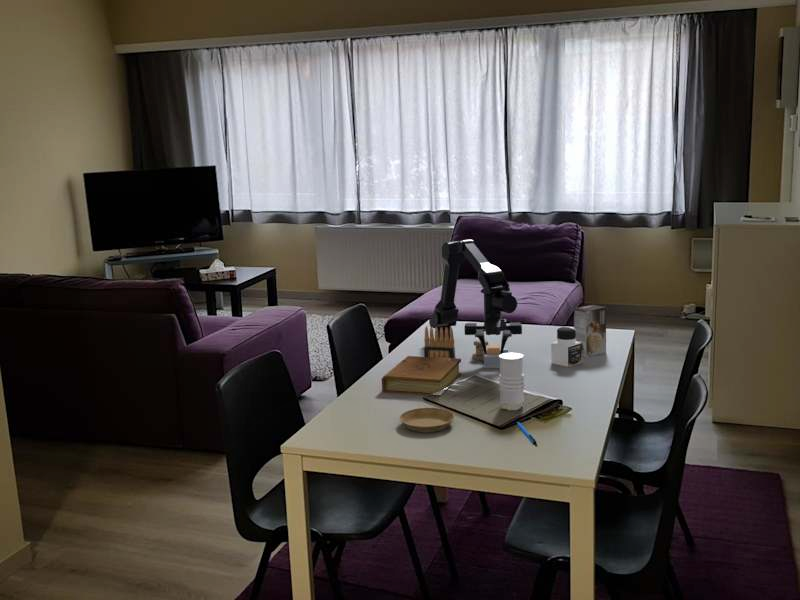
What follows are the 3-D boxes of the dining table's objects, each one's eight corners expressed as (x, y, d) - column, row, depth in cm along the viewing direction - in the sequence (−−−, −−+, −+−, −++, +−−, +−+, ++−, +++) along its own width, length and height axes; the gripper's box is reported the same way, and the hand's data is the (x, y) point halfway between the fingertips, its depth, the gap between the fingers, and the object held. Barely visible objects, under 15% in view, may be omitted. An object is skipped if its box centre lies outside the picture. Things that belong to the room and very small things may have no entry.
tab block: (487, 359, 285) (487, 345, 284) (499, 359, 285) (499, 344, 284) (487, 362, 282) (487, 348, 281) (499, 362, 281) (499, 348, 280)
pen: (534, 447, 211) (535, 442, 211) (513, 421, 230) (513, 417, 229) (538, 447, 211) (538, 442, 211) (516, 421, 230) (516, 417, 230)
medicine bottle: (568, 367, 276) (568, 331, 274) (551, 363, 281) (550, 328, 279) (581, 362, 281) (582, 327, 278) (564, 359, 286) (564, 324, 283)
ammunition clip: (455, 361, 289) (454, 326, 286) (454, 362, 287) (453, 328, 285) (425, 359, 292) (424, 325, 290) (424, 361, 291) (422, 326, 288)
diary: (406, 372, 280) (405, 355, 279) (461, 376, 274) (461, 358, 273) (382, 393, 259) (381, 375, 258) (441, 397, 253) (440, 378, 252)
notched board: (484, 360, 288) (483, 349, 287) (508, 360, 287) (507, 348, 287) (484, 367, 279) (483, 356, 279) (508, 367, 279) (508, 355, 278)
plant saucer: (466, 424, 229) (465, 415, 228) (428, 440, 219) (427, 430, 218) (426, 412, 239) (426, 404, 239) (388, 427, 229) (388, 417, 229)
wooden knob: (472, 355, 295) (472, 340, 294) (490, 355, 294) (489, 339, 293) (472, 360, 289) (471, 344, 288) (490, 359, 288) (489, 344, 287)
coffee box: (593, 349, 297) (593, 304, 293) (606, 352, 291) (607, 307, 288) (573, 353, 292) (573, 307, 289) (586, 357, 287) (586, 310, 283)
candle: (521, 412, 236) (521, 359, 233) (497, 410, 238) (496, 358, 235) (526, 404, 242) (526, 353, 239) (502, 402, 244) (502, 352, 241)
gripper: (463, 313, 273) (464, 360, 276) (522, 312, 271) (522, 360, 274) (464, 306, 284) (465, 351, 287) (521, 305, 282) (521, 351, 285)
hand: (493, 353), depth 283 cm, fingers open, 5 cm apart
